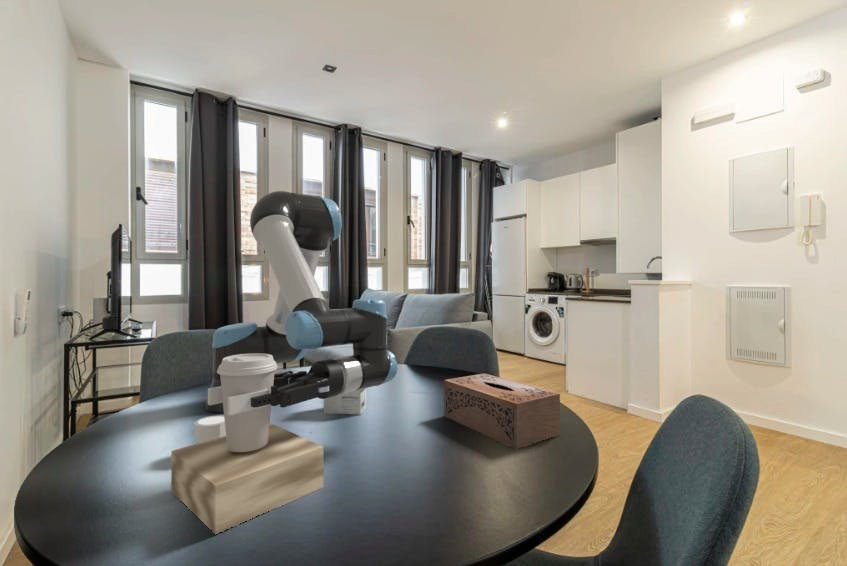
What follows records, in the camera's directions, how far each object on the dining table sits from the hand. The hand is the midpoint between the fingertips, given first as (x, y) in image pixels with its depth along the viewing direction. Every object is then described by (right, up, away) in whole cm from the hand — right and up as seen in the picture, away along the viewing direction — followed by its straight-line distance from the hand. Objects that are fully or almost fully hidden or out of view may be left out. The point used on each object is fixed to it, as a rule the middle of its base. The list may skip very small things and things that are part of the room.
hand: (218, 401), depth 66 cm
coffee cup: (+3, -9, +4) cm, 10 cm away
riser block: (+3, -16, +4) cm, 17 cm away
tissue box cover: (+52, -17, +35) cm, 65 cm away
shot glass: (-11, -16, +18) cm, 27 cm away
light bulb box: (+12, -17, +47) cm, 51 cm away
